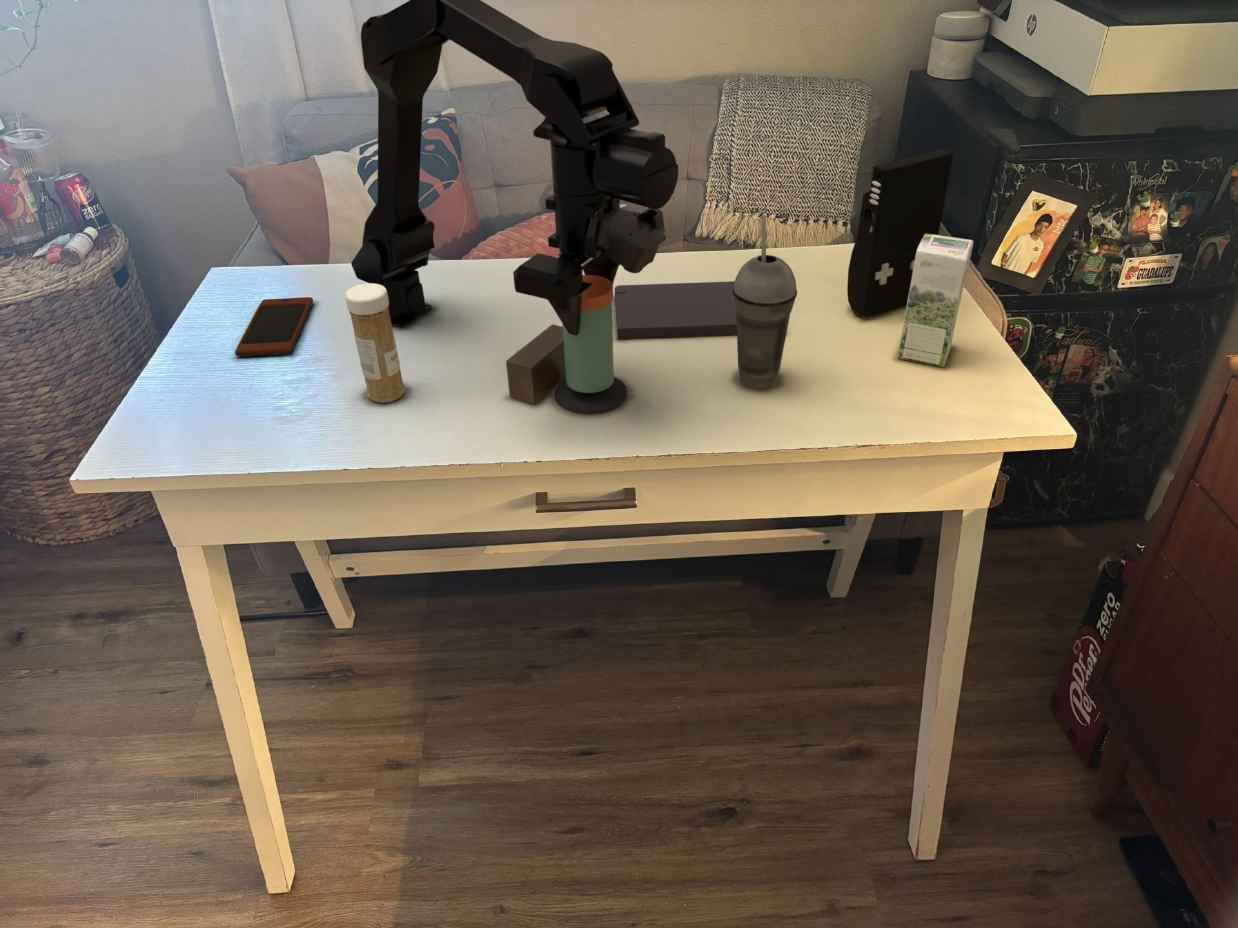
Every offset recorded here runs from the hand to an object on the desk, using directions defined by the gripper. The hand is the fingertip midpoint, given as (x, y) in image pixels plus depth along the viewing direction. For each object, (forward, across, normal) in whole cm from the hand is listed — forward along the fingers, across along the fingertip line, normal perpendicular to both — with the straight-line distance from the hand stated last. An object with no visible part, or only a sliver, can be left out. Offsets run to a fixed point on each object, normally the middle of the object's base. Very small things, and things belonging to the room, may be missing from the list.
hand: (587, 323), depth 104 cm
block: (+9, 0, +6) cm, 11 cm away
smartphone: (+10, -5, +46) cm, 47 cm away
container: (+6, 0, +4) cm, 7 cm away
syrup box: (+10, +27, -32) cm, 43 cm away
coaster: (+9, 0, 0) cm, 9 cm away
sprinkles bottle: (+10, -11, +22) cm, 26 cm away
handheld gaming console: (+10, +38, -24) cm, 46 cm away
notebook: (+10, +24, -2) cm, 26 cm away
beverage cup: (+10, +12, -16) cm, 22 cm away
